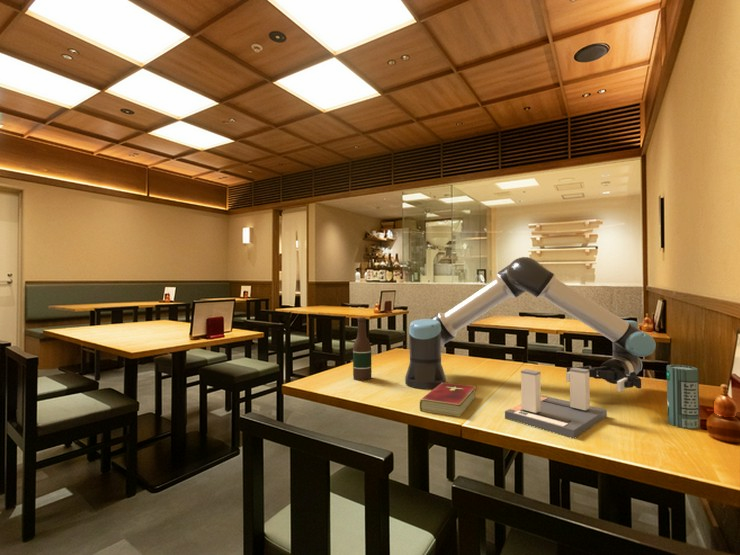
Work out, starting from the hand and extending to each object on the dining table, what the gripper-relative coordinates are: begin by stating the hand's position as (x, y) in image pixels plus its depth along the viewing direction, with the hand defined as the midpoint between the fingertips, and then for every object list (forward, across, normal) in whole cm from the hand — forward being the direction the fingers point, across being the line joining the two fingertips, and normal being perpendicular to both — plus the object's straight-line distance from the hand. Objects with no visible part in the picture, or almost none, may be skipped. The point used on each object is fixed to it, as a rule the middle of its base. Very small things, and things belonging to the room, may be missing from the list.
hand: (591, 381), depth 110 cm
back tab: (+8, 0, -6) cm, 10 cm away
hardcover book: (+26, +32, -9) cm, 42 cm away
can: (-6, -20, -9) cm, 22 cm away
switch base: (+14, +4, -8) cm, 17 cm away
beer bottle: (+26, +74, -9) cm, 79 cm away
